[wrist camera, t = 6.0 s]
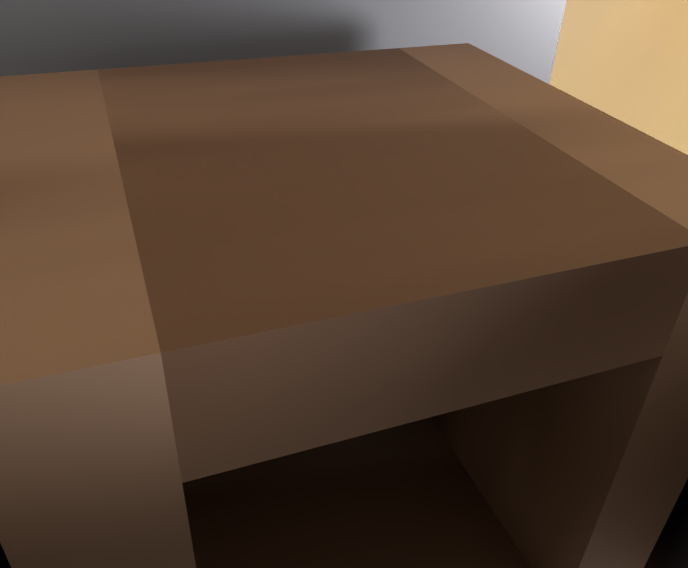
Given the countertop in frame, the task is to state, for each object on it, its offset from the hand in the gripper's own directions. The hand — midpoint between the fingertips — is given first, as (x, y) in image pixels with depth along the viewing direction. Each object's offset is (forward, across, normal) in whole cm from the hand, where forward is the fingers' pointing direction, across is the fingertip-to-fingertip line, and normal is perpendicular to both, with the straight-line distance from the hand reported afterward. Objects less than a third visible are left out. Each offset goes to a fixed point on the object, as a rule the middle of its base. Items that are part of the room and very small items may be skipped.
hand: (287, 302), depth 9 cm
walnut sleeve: (+1, 0, 0) cm, 1 cm away
